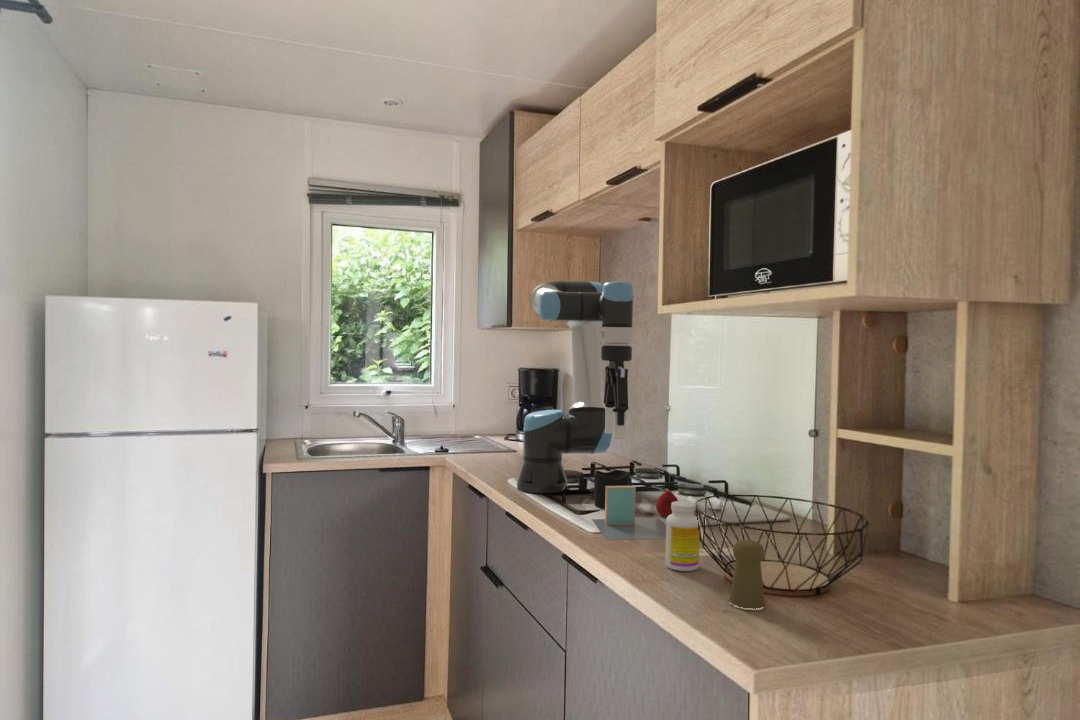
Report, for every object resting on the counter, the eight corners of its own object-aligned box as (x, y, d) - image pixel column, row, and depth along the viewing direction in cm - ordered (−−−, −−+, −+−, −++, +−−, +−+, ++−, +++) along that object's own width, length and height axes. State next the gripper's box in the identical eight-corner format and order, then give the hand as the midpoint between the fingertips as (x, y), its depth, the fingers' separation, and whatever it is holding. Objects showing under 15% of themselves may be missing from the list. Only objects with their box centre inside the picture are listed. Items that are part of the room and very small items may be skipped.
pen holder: (621, 516, 179) (622, 477, 179) (587, 511, 184) (588, 473, 183) (633, 508, 188) (634, 471, 187) (601, 504, 192) (602, 468, 192)
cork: (739, 612, 118) (740, 547, 118) (722, 598, 124) (724, 537, 123) (772, 610, 119) (773, 546, 119) (754, 596, 125) (756, 535, 125)
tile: (604, 523, 168) (605, 486, 168) (633, 522, 169) (634, 485, 169) (606, 525, 166) (607, 487, 166) (635, 524, 167) (635, 487, 167)
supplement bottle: (705, 571, 138) (706, 506, 138) (675, 573, 136) (676, 508, 136) (688, 560, 145) (689, 498, 144) (659, 563, 143) (660, 500, 142)
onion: (677, 517, 179) (678, 486, 179) (680, 523, 173) (681, 491, 173) (654, 516, 180) (655, 485, 179) (656, 522, 174) (657, 490, 174)
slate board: (591, 524, 171) (591, 519, 171) (658, 523, 174) (658, 518, 173) (606, 544, 155) (606, 539, 155) (680, 543, 157) (681, 538, 157)
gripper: (593, 344, 183) (591, 429, 184) (611, 345, 162) (609, 442, 163) (621, 344, 184) (619, 429, 185) (643, 345, 163) (641, 442, 164)
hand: (614, 435), depth 174 cm, fingers open, 9 cm apart
